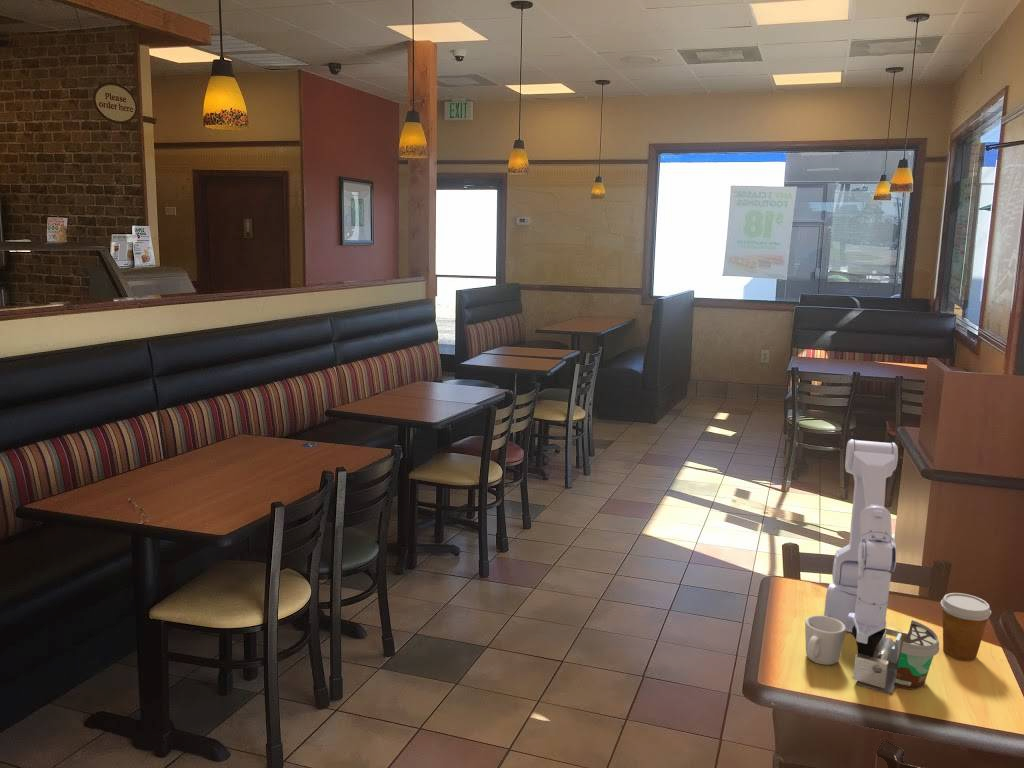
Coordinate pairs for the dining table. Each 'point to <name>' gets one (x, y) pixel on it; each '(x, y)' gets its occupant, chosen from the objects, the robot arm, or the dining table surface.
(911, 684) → the food container
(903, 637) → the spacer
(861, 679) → the shaft
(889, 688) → the mat
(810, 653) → the cup
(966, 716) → the dining table surface
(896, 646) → the bearing block
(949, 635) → the disposable coffee cup
